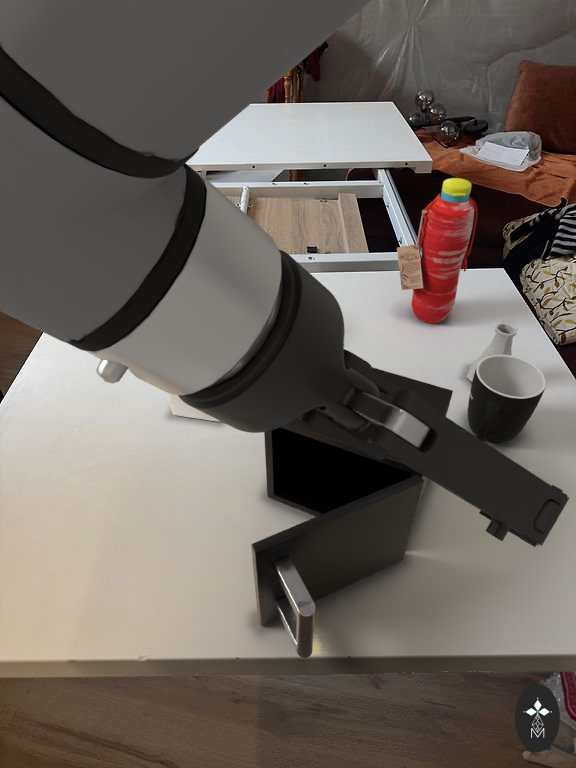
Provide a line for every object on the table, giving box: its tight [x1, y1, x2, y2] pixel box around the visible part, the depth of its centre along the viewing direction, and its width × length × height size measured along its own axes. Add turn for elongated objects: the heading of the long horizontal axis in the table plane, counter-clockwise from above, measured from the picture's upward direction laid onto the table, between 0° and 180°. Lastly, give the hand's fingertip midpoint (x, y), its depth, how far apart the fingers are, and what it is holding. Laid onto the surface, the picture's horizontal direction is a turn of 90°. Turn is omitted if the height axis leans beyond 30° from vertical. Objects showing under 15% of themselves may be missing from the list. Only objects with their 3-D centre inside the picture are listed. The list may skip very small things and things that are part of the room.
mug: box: [467, 355, 547, 444], centre depth 73 cm, size 12×9×10 cm
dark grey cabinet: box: [263, 366, 454, 519], centre depth 65 cm, size 13×18×15 cm
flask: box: [466, 321, 519, 383], centre depth 82 cm, size 7×7×10 cm
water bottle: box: [396, 177, 479, 324], centre depth 90 cm, size 12×8×25 cm, turn 89°
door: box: [250, 474, 424, 659], centre depth 52 cm, size 7×18×15 cm, turn 116°
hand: (446, 471), depth 36 cm, fingers open, 13 cm apart
